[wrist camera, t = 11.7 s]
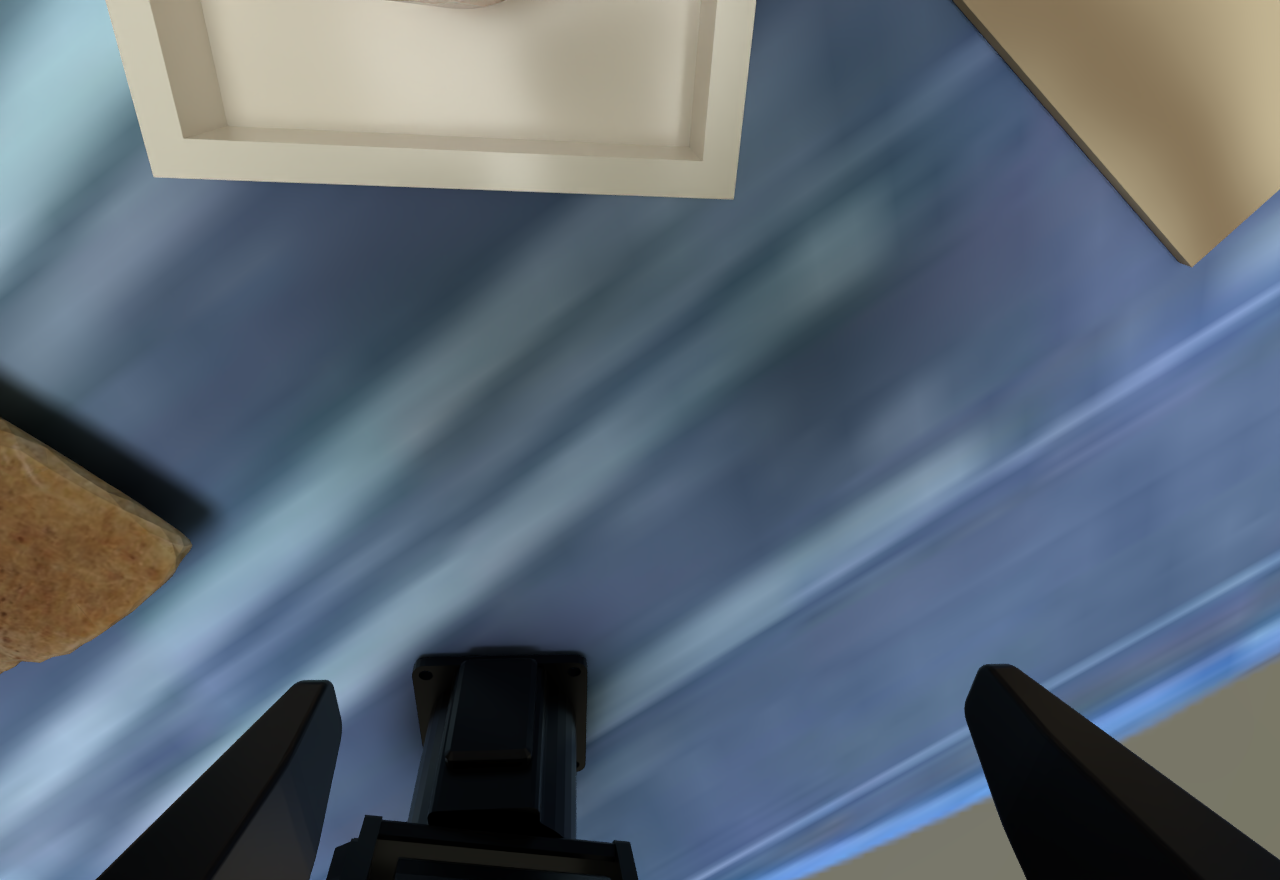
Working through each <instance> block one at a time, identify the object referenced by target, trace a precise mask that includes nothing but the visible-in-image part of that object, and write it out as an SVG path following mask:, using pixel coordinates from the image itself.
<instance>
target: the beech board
mask: <svg viewBox="0 0 1280 880" xmlns="http://www.w3.org/2000/svg"><path fill="white" fill-rule="evenodd" d="M953 1H954V3H955V4H956V5H957V6H958V7H959V8H960V10H961V11H962V12H963V13H964V14H965V15H966V17H967V18H968V19H969V20H970V21H971V22H972V23H973V25H974V26H975V27H976V28H977V29H978V30H979V32H980V33H981V34H982V35H983V36H984V37H985V38H986V40H987V41H988V42H989V43H990V44H991V45H992V47H993V48H994V49H995V50H996V51H997V52H998V53H999V55H1000V56H1001V57H1002V58H1003V59H1004V60H1005V62H1006V63H1007V64H1008V65H1009V66H1010V67H1011V68H1012V70H1013V71H1014V72H1015V73H1016V74H1017V75H1018V77H1019V78H1020V79H1021V80H1022V81H1023V82H1024V83H1025V85H1026V86H1027V87H1028V88H1029V89H1030V90H1031V92H1032V93H1033V94H1034V95H1035V96H1036V97H1037V98H1038V100H1039V101H1040V102H1041V103H1042V104H1043V105H1044V107H1045V108H1046V109H1047V110H1048V111H1049V112H1050V114H1051V115H1052V116H1053V117H1054V118H1055V119H1056V120H1057V122H1058V123H1059V124H1060V125H1061V126H1062V127H1063V129H1064V130H1065V131H1066V132H1067V133H1068V134H1069V135H1070V137H1071V138H1072V139H1073V140H1074V141H1075V142H1076V144H1077V145H1078V146H1079V147H1080V148H1081V149H1082V150H1083V152H1084V153H1085V154H1086V155H1087V156H1088V157H1089V159H1090V160H1091V161H1092V162H1093V163H1094V164H1095V165H1096V167H1097V168H1098V169H1099V170H1100V171H1101V172H1102V174H1103V175H1104V176H1105V177H1106V178H1107V179H1108V180H1109V182H1110V183H1111V184H1112V185H1113V186H1114V187H1115V189H1116V190H1117V191H1118V192H1119V193H1120V194H1121V195H1122V197H1123V198H1124V199H1125V200H1126V201H1127V202H1128V204H1129V205H1130V206H1131V207H1132V208H1133V209H1134V211H1135V212H1136V213H1137V214H1138V215H1139V216H1140V217H1141V219H1142V220H1143V221H1144V222H1145V223H1146V224H1147V226H1148V227H1149V228H1150V229H1151V230H1152V231H1153V232H1154V234H1155V235H1156V236H1157V237H1158V238H1159V239H1160V241H1161V242H1162V243H1163V244H1164V245H1165V246H1166V247H1167V249H1168V250H1169V251H1170V252H1171V253H1172V254H1173V256H1174V257H1175V258H1176V259H1177V260H1178V261H1179V262H1180V263H1182V264H1185V265H1187V266H1190V267H1193V266H1194V265H1195V264H1196V263H1197V262H1199V261H1200V260H1201V259H1202V258H1203V257H1204V256H1205V255H1206V254H1208V253H1209V252H1210V251H1211V250H1212V249H1213V248H1214V247H1215V246H1216V245H1218V244H1219V243H1220V242H1221V241H1222V240H1223V239H1224V238H1225V237H1227V236H1228V235H1229V234H1230V233H1231V232H1232V231H1233V230H1234V229H1236V228H1237V227H1238V226H1239V225H1240V224H1241V223H1242V222H1243V221H1244V220H1246V219H1247V218H1248V217H1249V216H1250V215H1251V214H1252V213H1253V212H1255V211H1256V210H1257V209H1258V208H1259V207H1260V206H1261V205H1262V204H1264V203H1265V202H1266V201H1267V200H1268V199H1269V198H1270V197H1271V196H1273V195H1274V194H1275V193H1276V192H1277V191H1278V190H1279V189H1280V0H953Z"/></svg>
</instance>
